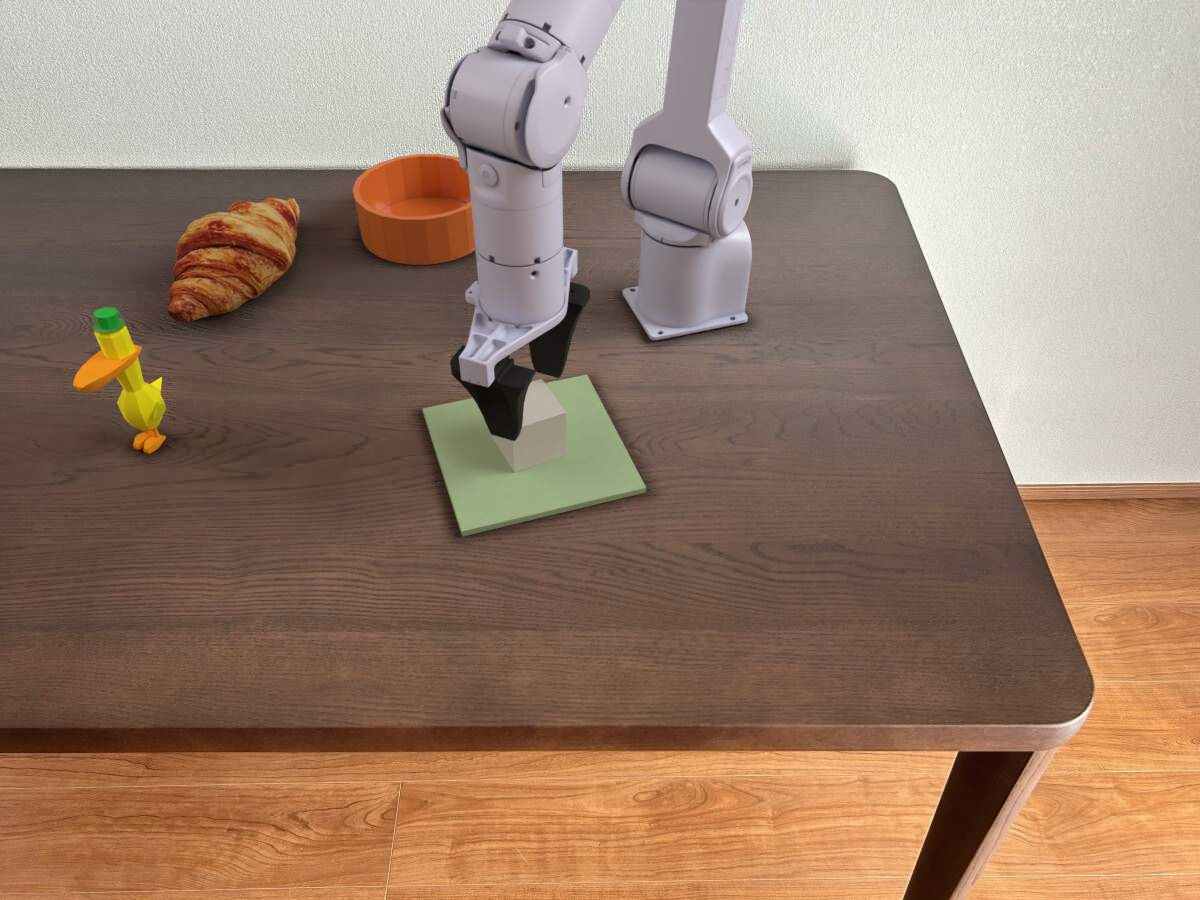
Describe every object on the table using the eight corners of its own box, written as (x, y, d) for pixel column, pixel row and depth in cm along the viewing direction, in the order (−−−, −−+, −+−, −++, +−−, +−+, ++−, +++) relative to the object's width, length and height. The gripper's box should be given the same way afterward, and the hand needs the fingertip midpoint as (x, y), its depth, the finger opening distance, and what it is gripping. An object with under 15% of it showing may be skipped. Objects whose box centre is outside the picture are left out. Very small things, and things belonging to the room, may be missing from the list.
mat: (586, 379, 82) (587, 374, 81) (646, 492, 72) (646, 487, 72) (423, 413, 78) (422, 407, 78) (462, 537, 69) (461, 531, 68)
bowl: (474, 189, 105) (470, 146, 102) (505, 252, 96) (503, 206, 93) (352, 208, 102) (344, 164, 99) (372, 274, 93) (364, 228, 90)
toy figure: (135, 479, 73) (78, 352, 64) (98, 465, 74) (37, 338, 65) (195, 424, 77) (149, 298, 69) (160, 412, 78) (110, 287, 70)
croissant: (278, 244, 103) (230, 178, 99) (348, 215, 98) (301, 145, 94) (166, 361, 88) (104, 289, 83) (244, 333, 83) (182, 255, 79)
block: (543, 420, 77) (541, 378, 74) (567, 455, 74) (566, 412, 71) (491, 437, 76) (488, 394, 73) (514, 473, 73) (511, 429, 70)
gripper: (512, 180, 69) (521, 335, 78) (407, 287, 59) (431, 449, 68) (605, 200, 67) (602, 356, 76) (512, 314, 57) (522, 477, 66)
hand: (527, 402), depth 72 cm, fingers open, 7 cm apart
